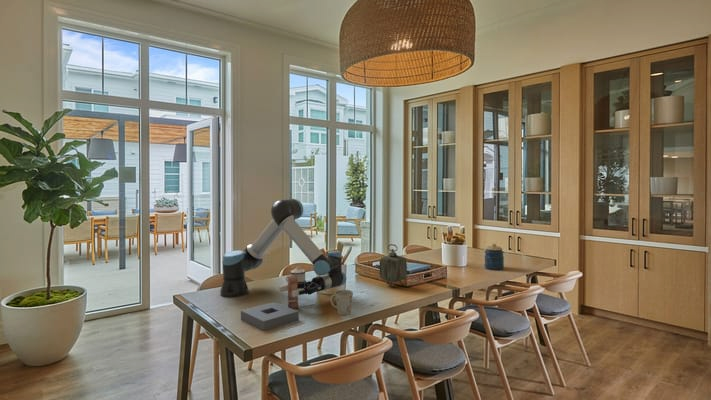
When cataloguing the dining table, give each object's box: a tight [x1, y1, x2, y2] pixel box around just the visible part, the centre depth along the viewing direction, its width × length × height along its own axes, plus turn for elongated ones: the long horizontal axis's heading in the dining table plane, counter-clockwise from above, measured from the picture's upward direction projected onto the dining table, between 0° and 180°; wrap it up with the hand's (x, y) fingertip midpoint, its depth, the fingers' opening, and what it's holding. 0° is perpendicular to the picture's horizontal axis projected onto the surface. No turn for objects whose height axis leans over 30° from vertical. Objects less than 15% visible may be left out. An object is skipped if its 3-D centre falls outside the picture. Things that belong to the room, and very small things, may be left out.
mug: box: [329, 289, 354, 316], centre depth 187 cm, size 8×13×10 cm, turn 58°
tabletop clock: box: [379, 243, 408, 288], centre depth 233 cm, size 14×9×25 cm, turn 50°
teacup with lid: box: [285, 266, 306, 283], centre depth 236 cm, size 12×9×12 cm
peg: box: [287, 274, 299, 310], centre depth 195 cm, size 5×5×16 cm
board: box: [240, 301, 300, 331], centre depth 179 cm, size 20×18×4 cm
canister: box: [483, 243, 505, 271], centre depth 277 cm, size 13×13×18 cm
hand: (285, 291), depth 192 cm, fingers open, 11 cm apart
